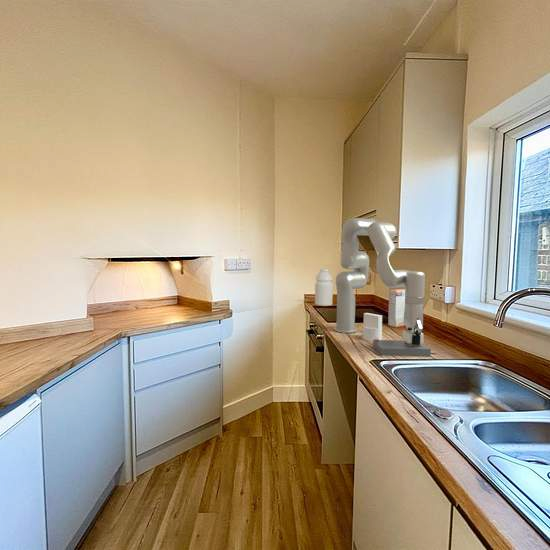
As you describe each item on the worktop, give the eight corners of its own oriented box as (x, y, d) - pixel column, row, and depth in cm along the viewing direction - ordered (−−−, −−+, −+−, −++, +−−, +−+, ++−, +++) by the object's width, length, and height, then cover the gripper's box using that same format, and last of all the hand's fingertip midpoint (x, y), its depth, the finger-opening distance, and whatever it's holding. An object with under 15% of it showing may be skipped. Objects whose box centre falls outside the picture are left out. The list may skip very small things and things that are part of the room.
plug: (402, 344, 148) (402, 330, 147) (417, 344, 148) (417, 330, 147) (407, 349, 141) (408, 333, 141) (423, 349, 141) (423, 333, 141)
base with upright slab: (358, 338, 165) (359, 314, 164) (370, 335, 171) (370, 312, 170) (374, 342, 158) (374, 317, 157) (385, 339, 164) (386, 315, 163)
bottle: (312, 303, 270) (312, 268, 268) (328, 302, 273) (329, 268, 271) (318, 306, 256) (319, 269, 254) (335, 305, 260) (336, 269, 258)
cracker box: (405, 323, 200) (406, 288, 198) (413, 325, 194) (415, 289, 192) (387, 325, 193) (388, 289, 192) (395, 327, 188) (396, 290, 186)
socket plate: (372, 346, 152) (373, 338, 151) (417, 347, 151) (418, 338, 151) (381, 355, 139) (381, 346, 138) (430, 356, 138) (431, 347, 138)
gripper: (398, 297, 152) (397, 337, 153) (413, 303, 134) (411, 348, 136) (415, 297, 152) (413, 337, 153) (432, 304, 134) (430, 348, 136)
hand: (412, 341), depth 144 cm, fingers closed on plug, 6 cm apart
